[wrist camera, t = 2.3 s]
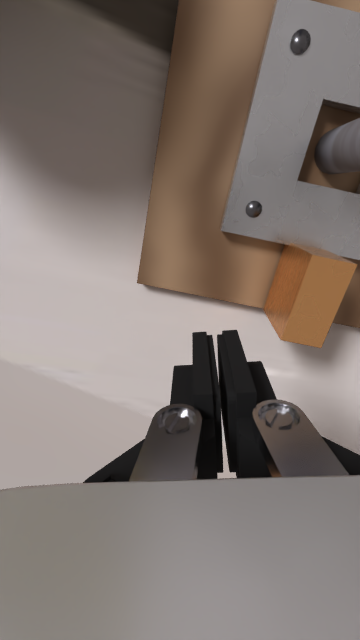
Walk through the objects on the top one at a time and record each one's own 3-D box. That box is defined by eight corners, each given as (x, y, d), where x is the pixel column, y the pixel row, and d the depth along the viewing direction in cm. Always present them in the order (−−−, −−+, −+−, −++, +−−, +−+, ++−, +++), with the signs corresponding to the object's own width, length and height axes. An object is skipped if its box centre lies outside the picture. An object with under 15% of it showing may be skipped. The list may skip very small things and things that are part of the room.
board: (606, -32, 19) (918, -198, 11) (406, 333, 29) (489, 390, 21) (202, -139, 18) (210, -412, 10) (139, 279, 28) (117, 316, 20)
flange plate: (274, 3, 19) (306, -70, 14) (482, 55, 20) (592, 4, 14) (203, 297, 27) (205, 325, 22) (353, 328, 28) (393, 362, 22)
